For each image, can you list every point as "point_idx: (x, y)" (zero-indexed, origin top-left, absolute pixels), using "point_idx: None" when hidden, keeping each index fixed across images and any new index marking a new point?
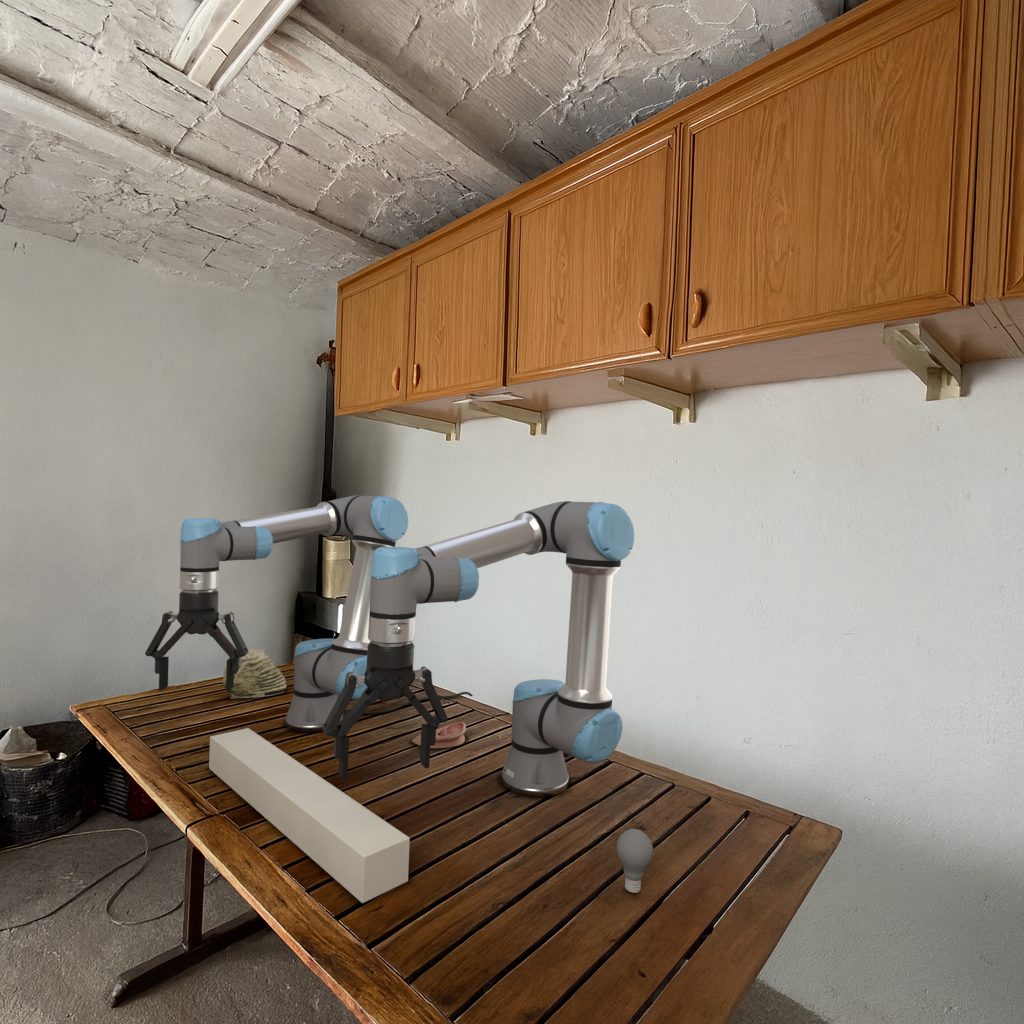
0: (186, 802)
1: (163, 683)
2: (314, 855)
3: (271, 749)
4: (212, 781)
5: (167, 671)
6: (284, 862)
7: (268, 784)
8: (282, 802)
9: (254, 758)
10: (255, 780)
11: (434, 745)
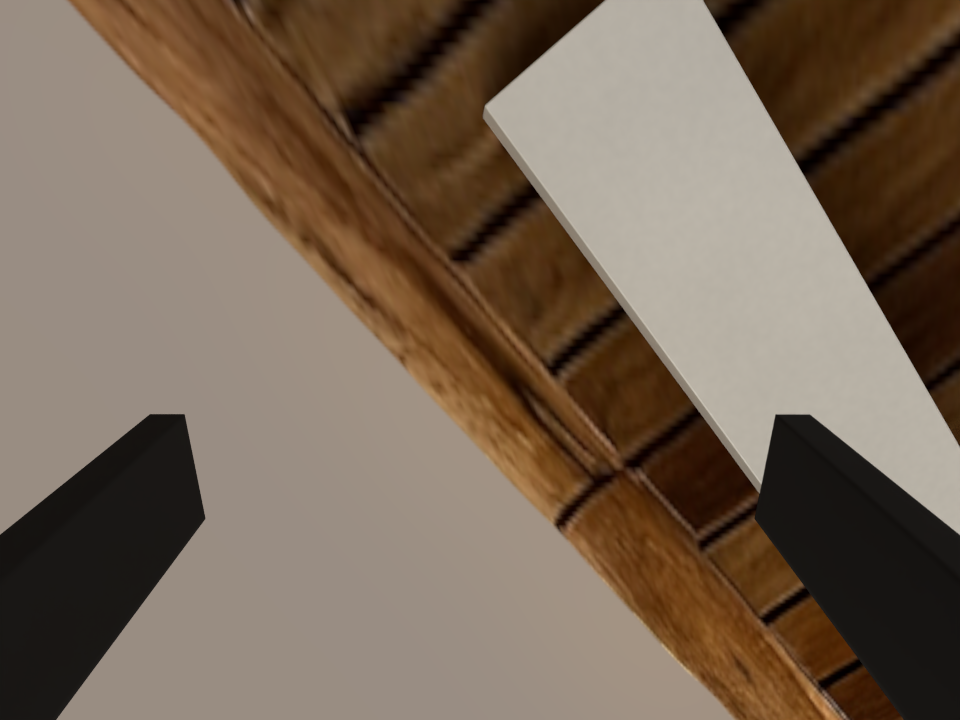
0: (501, 401)
1: (173, 542)
2: None
3: (830, 291)
4: (536, 245)
5: (89, 529)
6: (822, 669)
7: None
8: None
9: (761, 389)
10: None
11: None
